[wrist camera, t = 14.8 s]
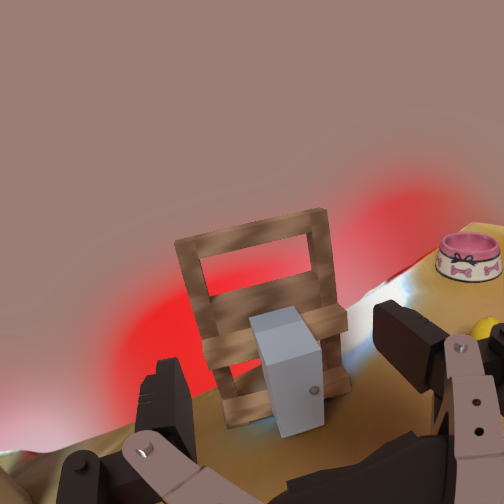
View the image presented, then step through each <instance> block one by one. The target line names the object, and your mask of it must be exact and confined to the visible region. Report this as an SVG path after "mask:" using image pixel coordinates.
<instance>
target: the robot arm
mask: <svg viewBox="0 0 504 504" xmlns="http://www.w3.org/2000/svg"><path fill="white" fill-rule="evenodd" d="M373 342H374V345H375V347H376V349H377V350H378V351H379V352H380V353H381V354H382V355H383V356H384V357H385V358H386V359H387V360H388V361H389V362H390V363H391V364H392V365H393V366H394V367H395V368H396V369H397V370H398V371H399V372H400V373H401V374H402V375H403V376H404V377H405V378H406V379H407V380H408V381H409V383H410V384H411V385H412V386H413V387H414V388H415V389H416V390H417V391H418V392H419V393H420V394H422V393H424V392H426V391H428V390H429V389H432V390H433V394H432V412H431V431H430V435H426V436H421V437H417V436H416V435H415V434H414V433H413V431H410V432H408V433H406V434H404V435H402V436H400V437H398V438H396V439H394V440H392V441H390V442H388V443H386V444H384V445H383V446H382V447H380V448H379V449H378V450H377V451H375V452H374V453H373V454H371V455H370V456H369V457H367V458H366V459H364V460H363V461H362V462H360V463H358V464H356V465H351V466H346V467H340V468H334V469H327V470H320V471H317V472H314V473H311V474H308V475H305V476H302V477H299V478H295V479H292V480H289V481H286V482H287V487H288V490H286V491H284V492H283V493H281V494H279V495H278V496H276V497H275V498H273V499H272V500H271V501H270V502H269V503H268V504H504V438H503V430H502V422H501V415H502V416H503V417H504V323H498V324H495V325H494V326H493V327H492V328H491V332H490V336H489V337H488V338H484V339H480V340H477V341H476V340H475V339H474V338H473V337H471V336H469V335H466V334H453V335H451V336H450V335H449V334H448V333H446V332H445V331H444V330H442V329H441V328H439V327H438V326H437V325H435V324H434V323H432V322H429V320H428V319H427V318H425V317H423V316H422V315H421V314H420V313H418V312H417V311H415V310H412V309H409V308H406V307H402V306H400V305H399V304H398V303H396V302H395V301H393V300H388V301H385V302H382V303H379V304H376V305H375V306H374V308H373ZM139 395H140V396H139V401H138V403H139V404H138V408H137V415H136V423H135V432H134V434H132V435H131V436H129V437H128V438H127V439H126V441H125V442H124V444H123V447H122V450H121V451H119V452H116V453H113V454H110V455H107V456H104V457H101V458H99V457H98V456H97V455H96V454H95V453H93V452H92V451H89V450H79V451H76V452H74V453H72V454H70V455H69V456H68V457H67V458H66V459H65V461H64V463H63V466H62V471H61V476H60V481H59V487H58V493H57V499H56V504H156V503H158V502H161V501H162V502H163V503H164V504H265V503H263V502H261V501H259V500H258V499H256V498H254V497H253V496H251V495H250V494H248V493H246V492H245V491H243V490H242V489H240V488H239V487H237V486H236V485H234V484H232V483H231V482H229V481H228V480H227V479H225V478H224V477H222V476H221V475H219V474H218V473H216V472H215V471H214V470H212V469H211V468H209V467H207V466H203V467H200V466H198V465H197V457H196V446H195V435H194V423H193V410H192V399H191V394H190V390H189V387H188V385H187V382H186V380H185V377H184V374H183V372H182V369H181V366H180V363H179V361H178V359H177V357H174V358H169V359H163V360H158V361H157V366H156V374H153V375H147V377H146V378H145V380H144V381H143V382H142V384H141V387H140V394H139ZM500 414H501V415H500ZM0 504H33V502H32V499H31V497H30V496H29V494H28V493H27V492H26V491H25V490H24V489H23V488H22V487H21V486H19V485H18V484H17V483H16V482H15V481H14V480H13V479H12V478H11V477H10V475H9V474H8V473H7V472H6V471H5V470H4V469H3V468H2V467H1V466H0Z"/></svg>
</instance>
